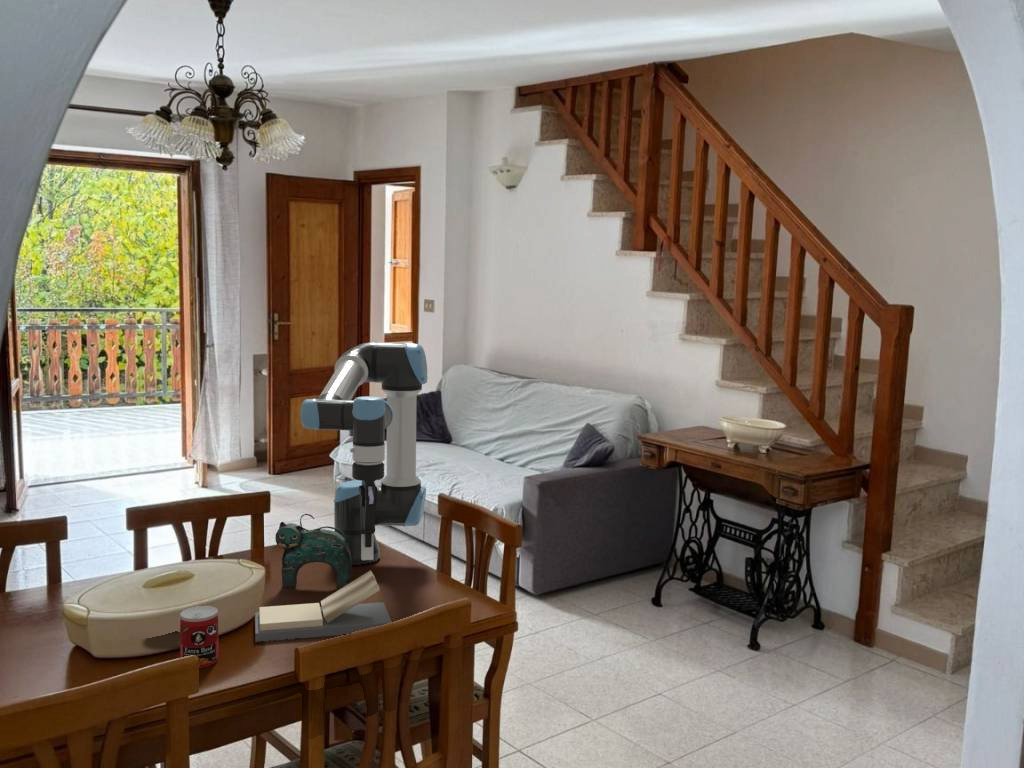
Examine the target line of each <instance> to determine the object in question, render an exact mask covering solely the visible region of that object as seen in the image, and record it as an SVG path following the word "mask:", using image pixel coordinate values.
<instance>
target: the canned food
mask: <svg viewBox="0 0 1024 768" xmlns="http://www.w3.org/2000/svg"><path fill="white" fill-rule="evenodd" d="M179 636H180V637H179V643H180V644H179V645H180V658H181V657H184V656H190V655H197V656H198V657H199V660H200V668H199V669H204V667H205V668H208V667H210V665H211V666H213V665H214V664H216V663H217V661H218V659H219V611H218V608H217V607H215V606H211V605H205V606H195V607H191V608H188V609H185V610H183V611H182V612H181V613H180V632H179ZM212 664H213V665H212Z"/></svg>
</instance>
